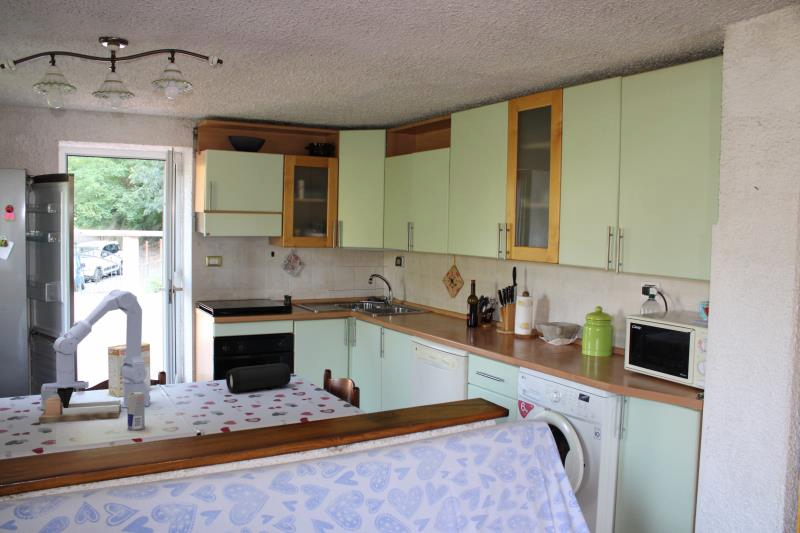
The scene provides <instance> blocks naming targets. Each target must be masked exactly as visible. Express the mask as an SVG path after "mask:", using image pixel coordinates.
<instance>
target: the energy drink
mask: <svg viewBox="0 0 800 533" xmlns="http://www.w3.org/2000/svg"><path fill="white" fill-rule="evenodd" d="M145 407H146V406H145V404H144V392H142V391H134V392H129V393H128V396H127V407H126V408H127V430H129V431H139V430H143V429H144V428H145V420H146V419H145V418H146V417H145V416H146V415H145V410H146V409H145Z"/></svg>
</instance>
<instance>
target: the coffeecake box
mask: <svg viewBox="0 0 800 533" xmlns="http://www.w3.org/2000/svg"><path fill="white" fill-rule="evenodd" d="M150 345H151V344H150V343H147V342H142V341H141V357H142V359H143V360H144V362H145V369H146V371H147V375H146V378H145V379H144V381H149V385H150V386H151V346H150ZM125 357H126V343H125V344H120V345H119V344H118V345H112V346H108V347H107V359H108V361H107V364H108V366H107V367H108V368H107V370H108V395H109V396H113V397H116V398H119V397H124V391H123V380H124V378H123V377H122V376H121V373H120V370H121V367H122V365H123V360H124V358H125Z"/></svg>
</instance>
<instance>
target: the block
mask: <svg viewBox="0 0 800 533" xmlns="http://www.w3.org/2000/svg"><path fill="white" fill-rule="evenodd" d="M62 408H63V407H62V401H61V399H60V398H51V399H47V401H46V415H47V414H60V413H61V412H62Z"/></svg>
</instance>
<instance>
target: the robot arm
mask: <svg viewBox="0 0 800 533" xmlns="http://www.w3.org/2000/svg"><path fill="white" fill-rule="evenodd" d="M137 299H138V297H137V296H136V295H135V294H134V293H132V292H131V291H128V290H126V291H125V290H120V289H113V290H111V291H110V292H109V293H108V294H107V295H106V296H104V298H103V299H102V300H101V301H100V303H99V304H98V305H97V306H95V308H94V309H93V310H92V311H91V313H90V314H88V315H87V317H85V319H81V320H78V321H74V322H73V324H72V325H73V326H71V327H70V329H69V330H67V332H64V333H63V334H62V335H63V336H60V337H58V338H56V340H55V341H54V344H53V345H52V347H53V350H54V351H55V353H56V355H55V356H56V357H55V358H56V359H55V360H56V370H55V372H56V382H52V383H51V382H50V383H43V384H42V386H41V387H42V389H43V390H53V389H57V394H58V395H59V397H60V399H61V401H62V404H63V407H62V408H69V403H71V402H70V401H71V398H72V396H73V393H74V391H75V389H89V386H90V385H89V381H76V380H75V376H76V374H75V372H76V371H75V352H76V351H77V350H78V345H79V344H80V343H82V341H84V339H85V338H87V336H88V335H89V334H90V333H92V331H93V330H92V328H93V325H95V324H96V323H97V322H98V321H99V320H100V319H102V318H103V317H104V316H105V315H106V314H107V313H108V312H110V311H116V310H118V311H119V310H121V311H122V312H123V314H125V315H126V334H125V335H126V338H125V341H126V342H125V344H126V357H125V358H124V360H123V365H122V367H121V370H120V373H121V376H122V377H123V378H124V380H123V391H124V396H123V403H121V409H122V408H124V409H125V408H127V396H128V393H129V392H134V391H142V392H144V404H145V407H150V406H149V405H150V402H151V394H150V391H151V384H150V385H149V381H144V379H145V378H146V375H147V371H146V369H145V362H144V360H143V359H142V357H141V342H142V340H143V339H142V337H143V336H142V335H143V334H142V333H143V332H142V331H143V325H142V324H143V308H142V307H141V305H140V303H139V301H138V300H137Z"/></svg>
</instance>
